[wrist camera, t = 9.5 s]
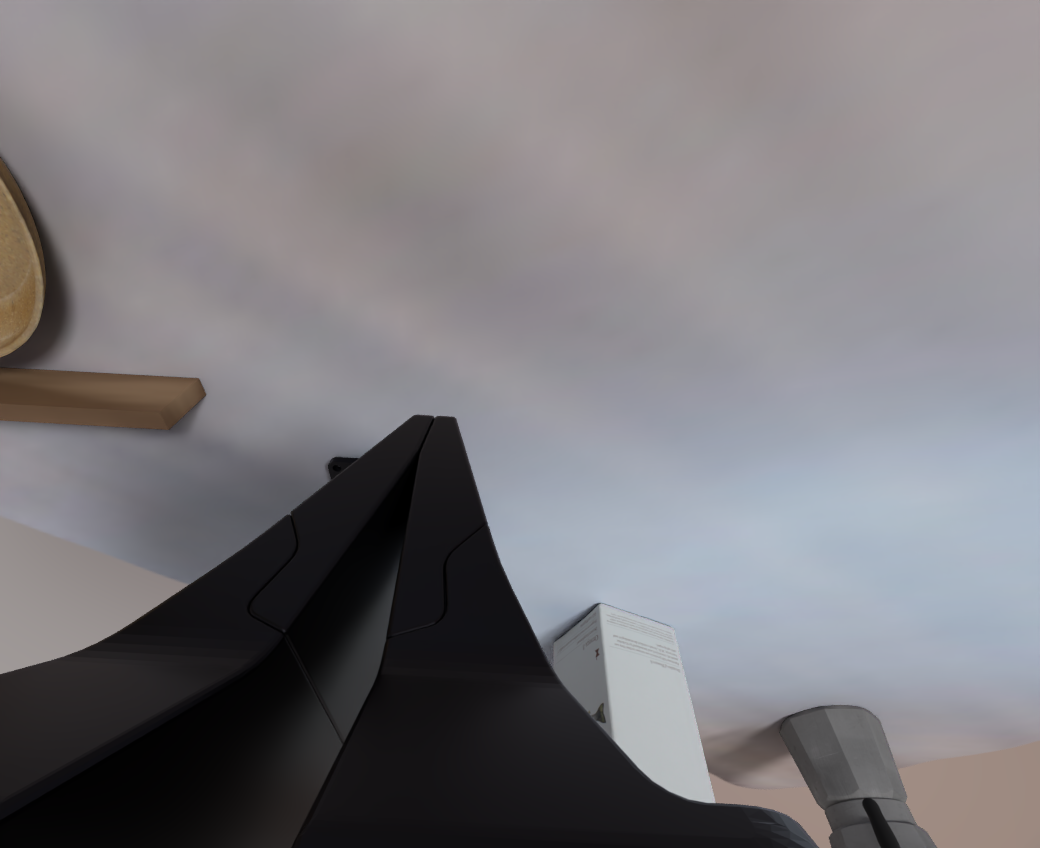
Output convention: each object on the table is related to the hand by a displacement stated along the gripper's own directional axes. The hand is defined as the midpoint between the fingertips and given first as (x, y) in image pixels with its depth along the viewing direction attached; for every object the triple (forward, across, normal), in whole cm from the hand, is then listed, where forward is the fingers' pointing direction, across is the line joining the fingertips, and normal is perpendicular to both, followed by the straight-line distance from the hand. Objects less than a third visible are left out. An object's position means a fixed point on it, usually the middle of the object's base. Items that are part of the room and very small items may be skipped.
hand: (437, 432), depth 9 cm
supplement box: (+12, -10, +30) cm, 34 cm away
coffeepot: (+12, -34, +44) cm, 57 cm away
